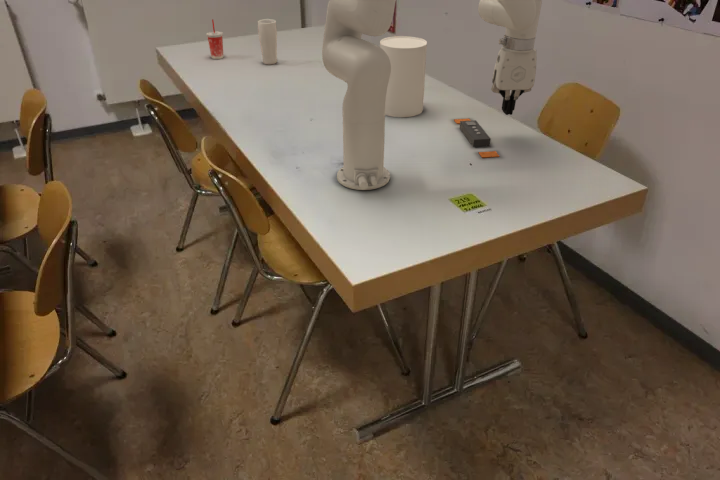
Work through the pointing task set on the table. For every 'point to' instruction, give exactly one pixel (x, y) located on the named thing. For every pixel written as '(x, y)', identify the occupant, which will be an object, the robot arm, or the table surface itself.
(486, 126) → the table surface
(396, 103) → the canister
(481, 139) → the remote
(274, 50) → the drinking glass
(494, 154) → the tiles
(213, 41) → the beverage cup
